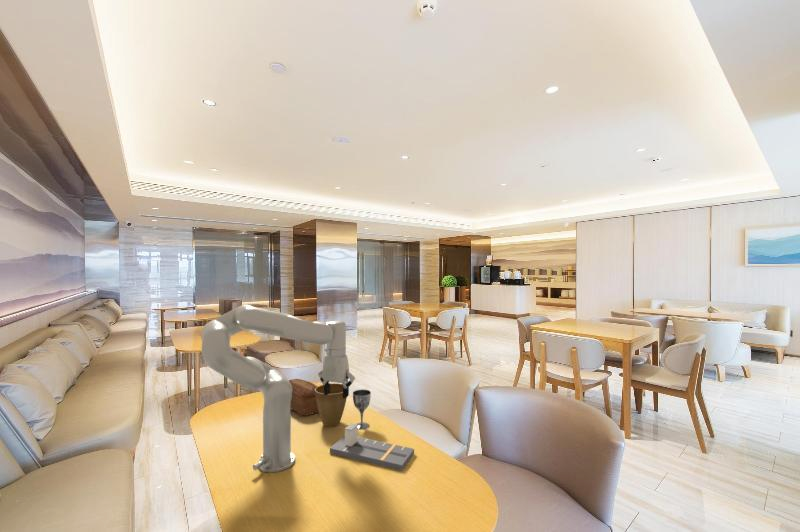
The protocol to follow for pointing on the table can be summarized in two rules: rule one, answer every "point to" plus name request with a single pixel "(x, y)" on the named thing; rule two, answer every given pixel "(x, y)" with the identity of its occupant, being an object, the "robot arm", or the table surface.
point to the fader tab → (351, 434)
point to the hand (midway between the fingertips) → (336, 395)
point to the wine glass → (362, 405)
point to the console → (374, 452)
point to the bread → (303, 397)
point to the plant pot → (330, 404)
